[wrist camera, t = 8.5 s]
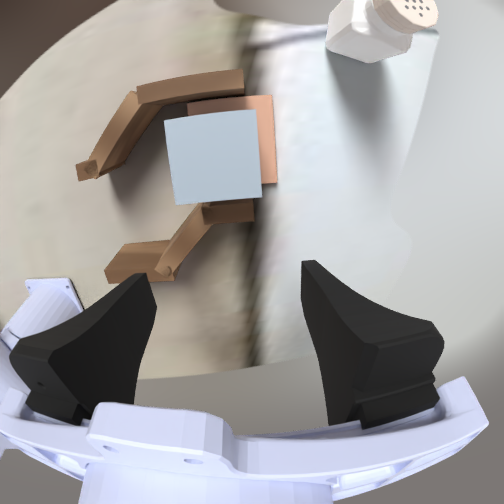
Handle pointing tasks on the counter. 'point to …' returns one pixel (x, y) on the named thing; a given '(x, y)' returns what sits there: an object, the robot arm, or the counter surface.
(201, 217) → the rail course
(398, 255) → the counter surface
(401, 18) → the pepper shaker
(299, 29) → the counter surface
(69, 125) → the counter surface
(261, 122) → the coaster
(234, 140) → the slate block
